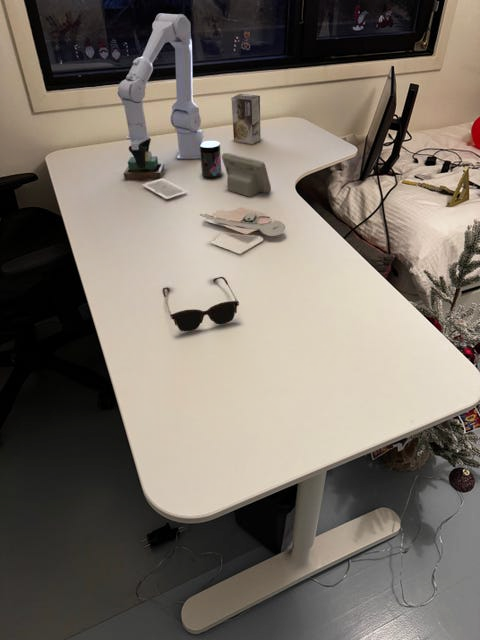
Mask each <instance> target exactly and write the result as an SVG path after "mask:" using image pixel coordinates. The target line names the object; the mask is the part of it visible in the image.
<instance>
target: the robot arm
mask: <svg viewBox="0 0 480 640" xmlns="http://www.w3.org/2000/svg"><path fill="white" fill-rule="evenodd" d="M166 43H170V44H171V46H172V47H173V48H174V53H175V54H174V55H175V56H174V58H175V59H174V60H175V83H176V84H175V85H176V87H175V88H176V89H175V90H176V91H175V92H176V100H175V102H174V103H173V104H172V105H171V114H170V124H171V125H172V127H173V128H174V130H175V131H176V136H177V143H178V144H177V146H178V154H177V157H176V158H177V160H193V159H194V160H196V159H198V160H199V159H201V158H200V148H199V144H200V143H201V142H204V141H205V137H204V130H202V129H200V128H201V124H202V119H201V115H200V108H199V106H198V105H197V104H196V103H195V102H194V101H193V97H194V96H193V93H194V92H193V40H192V33H191V21H190V20H189V19H188V18H187V16H186V15H185V14H184V13H183V14H182V13H179V14H176V13H175V14H174V13H173V14H172V13H162V12H161V13H158V14H157V15H156V17H155V19H154V21H153V22H152V32H151V35H150V37H149V38H148V41H147V44H146V46H145V48H144V50H143V53H142V56H140V57H139V56H138V57H137V58H135V59H134V60H133V61H132V66H131V68H130V70H129V72H128V74H127V75H126V77H125V79H123V80H121V81H120V82H119V84H118V87H117V89H118V90H117V91H116V93H117V96H118V97H119V99H120V100H121V102H122V105H123V107H124V114H125V118H126V123H127V130H128V135H127V136H126V138H125V139H126V140H127V141H128V140H129V141H130V145H129V146H128V151H129V152H130V153H131V156H132V157H134V158H135V161H136V163H137V165H138V167H139V168H145V152H150V145H151V141H152V139H151V138H150V137H149V134H148V129H147V123H146V117H145V110H144V104H143V100H144V98H145V97H146V88H147V87H146V86H147V83H148V81H149V79H150V77H151V75H152V73H153V71H154V67H153V63H154V61H155V60H156V58H157V56H158V55H159V53H160V52H161V50H162V48H163V46H164V45H165V44H166Z"/></svg>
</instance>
